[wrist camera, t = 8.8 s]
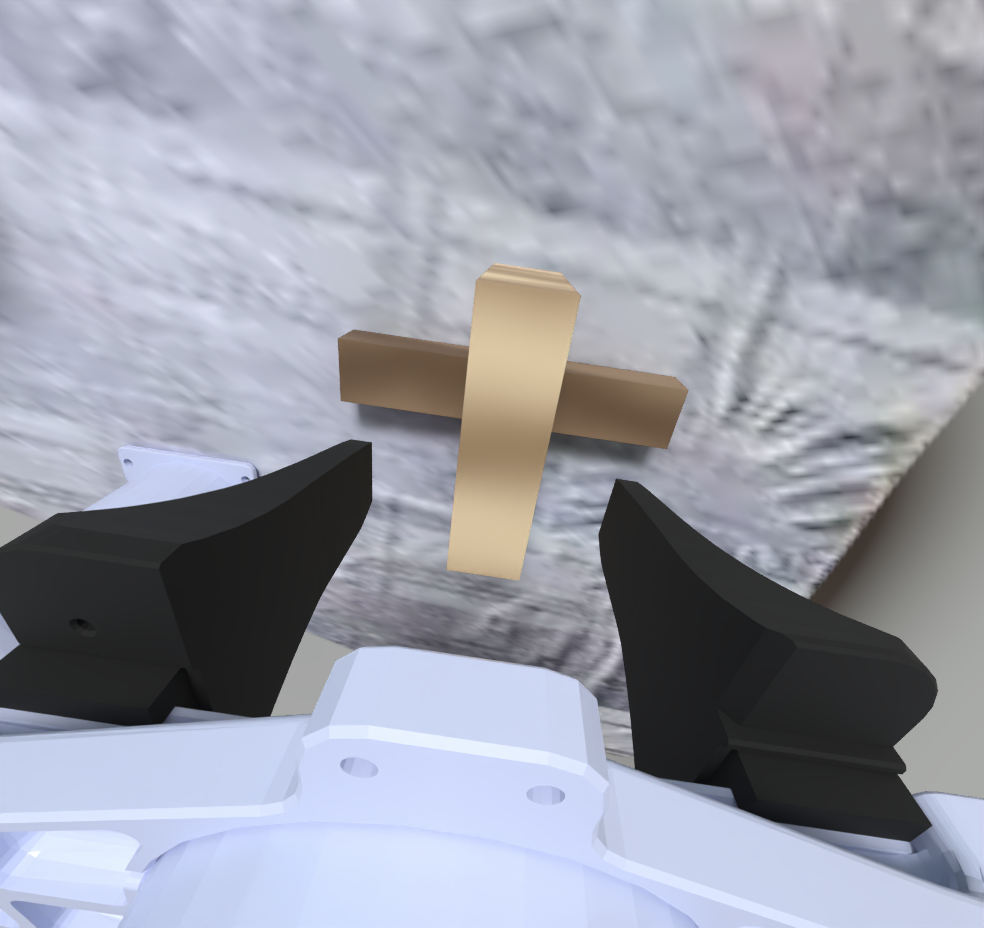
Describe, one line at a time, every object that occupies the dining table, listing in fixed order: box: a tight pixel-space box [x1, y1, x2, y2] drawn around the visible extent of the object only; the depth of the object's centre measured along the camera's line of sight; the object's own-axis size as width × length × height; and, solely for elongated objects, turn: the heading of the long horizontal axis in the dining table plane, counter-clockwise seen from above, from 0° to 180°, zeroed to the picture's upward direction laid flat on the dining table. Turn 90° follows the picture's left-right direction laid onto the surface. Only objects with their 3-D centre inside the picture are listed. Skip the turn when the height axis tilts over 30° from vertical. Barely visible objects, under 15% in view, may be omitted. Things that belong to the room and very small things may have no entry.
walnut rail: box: [338, 330, 688, 449], centre depth 21 cm, size 3×16×2 cm, turn 83°
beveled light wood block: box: [447, 263, 581, 580], centre depth 18 cm, size 11×3×8 cm, turn 173°
